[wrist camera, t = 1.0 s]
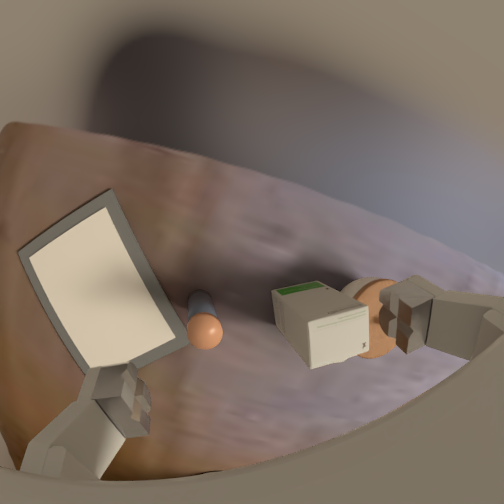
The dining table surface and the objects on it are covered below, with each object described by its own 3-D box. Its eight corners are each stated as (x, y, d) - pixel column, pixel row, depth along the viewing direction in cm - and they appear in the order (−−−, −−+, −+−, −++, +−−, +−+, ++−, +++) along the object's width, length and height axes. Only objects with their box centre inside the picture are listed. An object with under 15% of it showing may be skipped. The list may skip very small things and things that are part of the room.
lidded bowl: (305, 312, 47) (337, 335, 36) (353, 256, 48) (393, 263, 37) (348, 351, 49) (381, 377, 38) (389, 300, 50) (429, 314, 40)
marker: (216, 306, 43) (228, 339, 30) (195, 317, 43) (198, 354, 30) (204, 284, 43) (211, 310, 30) (182, 296, 42) (180, 326, 29)
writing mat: (193, 340, 43) (193, 342, 42) (96, 386, 40) (94, 389, 39) (112, 189, 39) (111, 188, 38) (19, 252, 36) (16, 252, 35)
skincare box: (317, 279, 46) (372, 302, 31) (320, 317, 47) (372, 351, 32) (268, 289, 45) (307, 320, 30) (273, 329, 46) (311, 372, 30)
